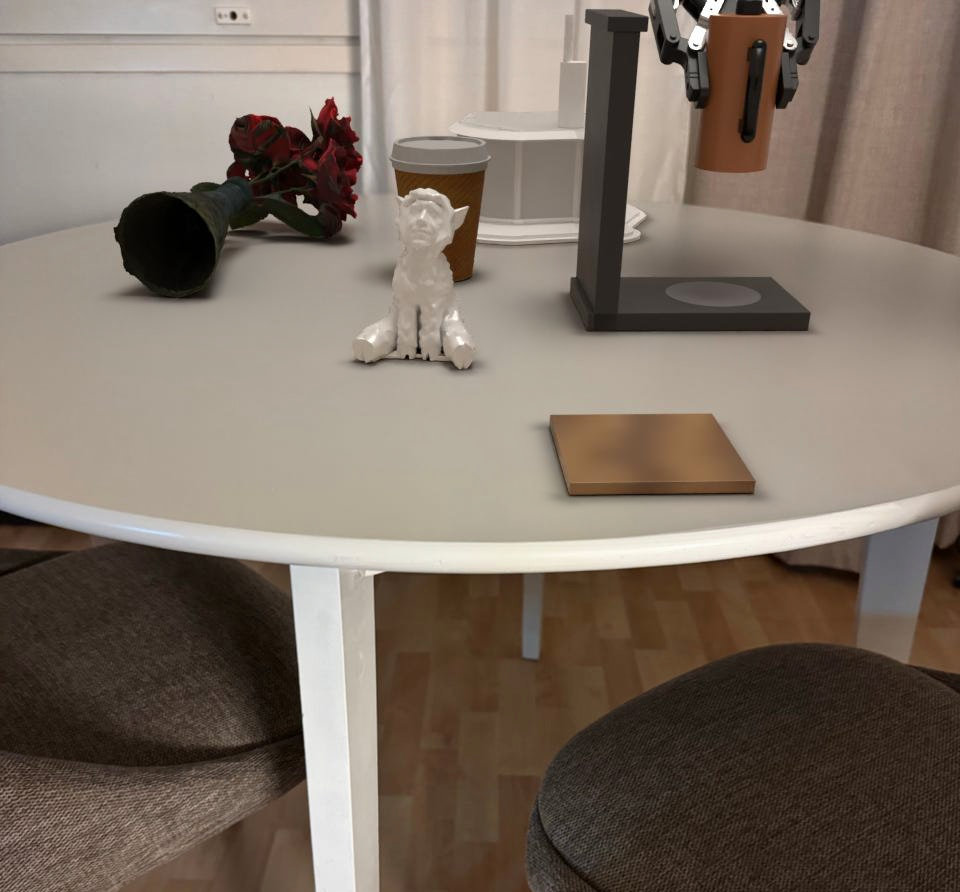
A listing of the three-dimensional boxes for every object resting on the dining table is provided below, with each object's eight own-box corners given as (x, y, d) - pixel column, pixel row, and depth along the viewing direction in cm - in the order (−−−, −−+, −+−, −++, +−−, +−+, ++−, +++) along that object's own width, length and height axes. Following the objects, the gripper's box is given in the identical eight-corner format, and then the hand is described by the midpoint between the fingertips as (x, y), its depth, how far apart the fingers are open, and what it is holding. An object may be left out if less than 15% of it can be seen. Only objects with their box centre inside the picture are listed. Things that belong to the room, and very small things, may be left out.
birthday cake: (365, 215, 129) (356, 9, 117) (533, 188, 145) (539, 5, 133) (540, 261, 110) (550, 22, 98) (710, 225, 126) (735, 15, 115)
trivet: (710, 424, 72) (712, 413, 72) (754, 493, 63) (756, 480, 62) (549, 425, 71) (549, 414, 71) (569, 495, 62) (569, 482, 62)
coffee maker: (768, 292, 101) (811, 11, 88) (808, 330, 90) (864, 18, 78) (569, 292, 100) (585, 8, 88) (587, 331, 90) (608, 15, 77)
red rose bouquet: (201, 378, 101) (297, 267, 129) (334, 255, 93) (407, 165, 121) (70, 246, 95) (201, 160, 123) (200, 101, 87) (309, 44, 115)
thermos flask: (755, 160, 92) (777, -2, 85) (781, 177, 85) (807, 2, 78) (686, 161, 91) (703, -2, 85) (707, 177, 85) (727, 2, 78)
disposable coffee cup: (503, 269, 107) (507, 139, 101) (463, 291, 100) (463, 152, 93) (420, 259, 110) (418, 132, 104) (374, 279, 103) (369, 144, 97)
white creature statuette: (350, 363, 82) (341, 197, 75) (375, 331, 89) (369, 176, 82) (472, 370, 81) (473, 202, 74) (487, 337, 88) (489, 181, 81)
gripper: (649, -116, 84) (664, 67, 81) (828, -114, 85) (850, 67, 81) (632, -37, 92) (645, 134, 88) (797, -36, 92) (816, 133, 89)
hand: (743, 101), depth 85 cm, fingers closed on thermos flask, 6 cm apart
